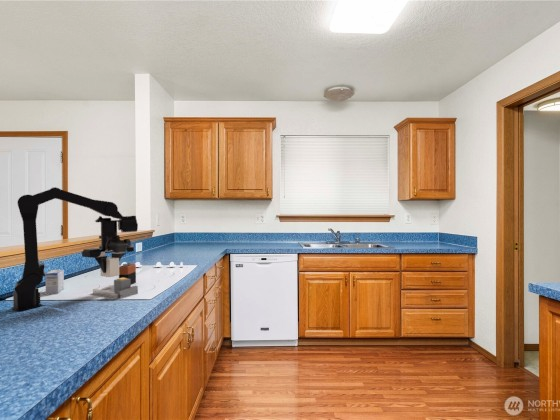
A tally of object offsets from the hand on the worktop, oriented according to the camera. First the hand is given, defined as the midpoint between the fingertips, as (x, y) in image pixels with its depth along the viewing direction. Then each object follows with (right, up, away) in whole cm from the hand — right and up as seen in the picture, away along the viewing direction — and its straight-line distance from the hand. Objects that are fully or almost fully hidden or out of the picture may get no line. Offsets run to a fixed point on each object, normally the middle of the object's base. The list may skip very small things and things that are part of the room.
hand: (109, 271), depth 126 cm
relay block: (+7, -8, -3) cm, 11 cm away
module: (0, -2, 0) cm, 2 cm away
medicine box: (-26, -10, +5) cm, 28 cm away
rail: (+3, -9, -1) cm, 9 cm away
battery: (+1, -9, +14) cm, 16 cm away
